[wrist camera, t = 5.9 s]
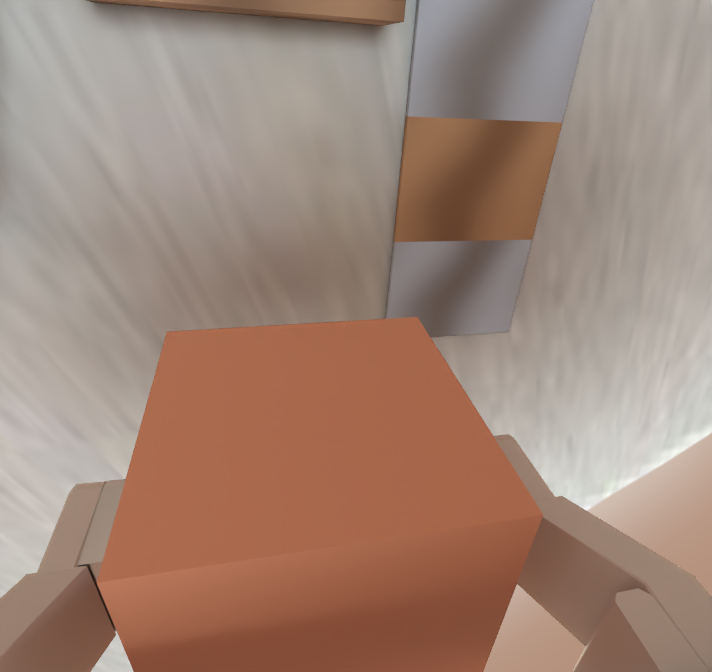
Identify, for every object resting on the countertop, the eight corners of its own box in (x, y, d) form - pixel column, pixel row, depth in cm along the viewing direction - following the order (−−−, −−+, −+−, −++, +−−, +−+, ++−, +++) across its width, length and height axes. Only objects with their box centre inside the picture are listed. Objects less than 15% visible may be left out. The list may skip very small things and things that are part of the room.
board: (723, -529, 14) (732, -539, 14) (506, 329, 29) (508, 332, 29) (479, -625, 12) (484, -639, 12) (383, 337, 28) (384, 339, 28)
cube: (417, 317, 10) (543, 514, 6) (396, 481, 12) (472, 700, 8) (167, 331, 9) (95, 582, 5) (200, 506, 11) (174, 768, 7)
